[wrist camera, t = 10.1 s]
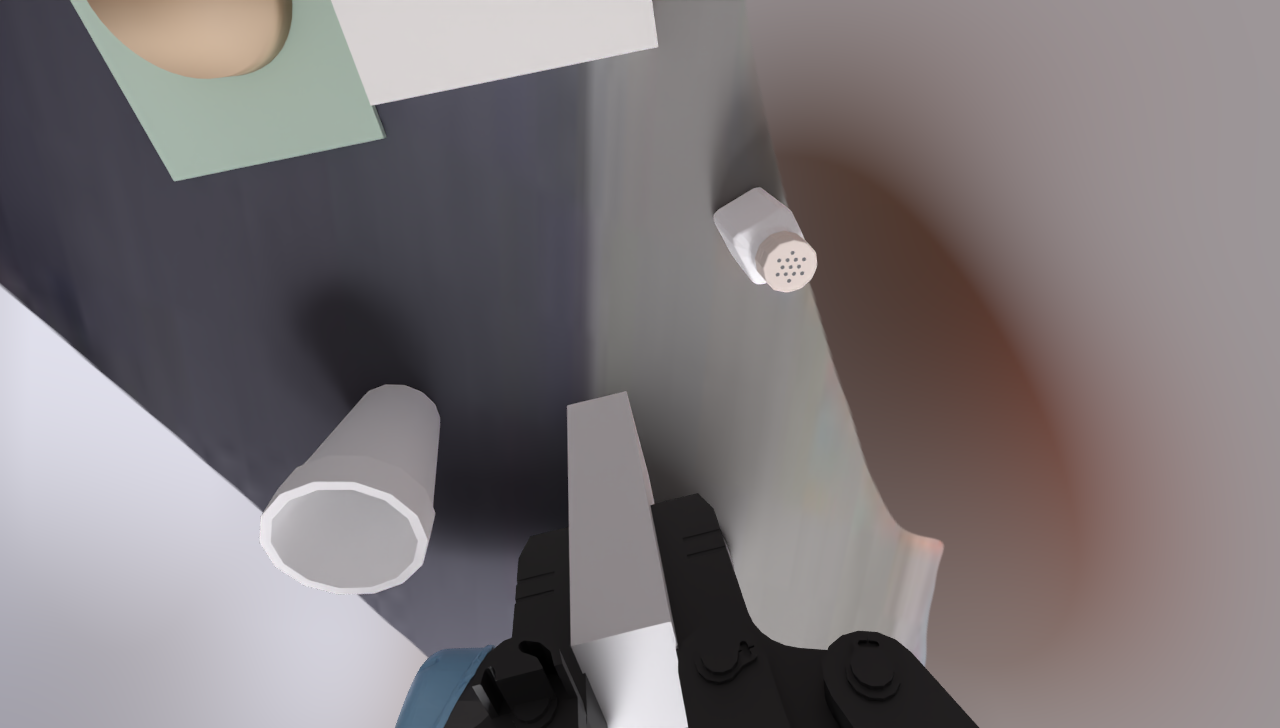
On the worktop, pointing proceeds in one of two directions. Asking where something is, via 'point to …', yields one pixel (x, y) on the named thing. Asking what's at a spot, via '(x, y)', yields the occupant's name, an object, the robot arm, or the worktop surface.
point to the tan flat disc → (200, 33)
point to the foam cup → (360, 498)
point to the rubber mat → (248, 99)
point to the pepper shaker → (766, 241)
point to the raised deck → (482, 39)
